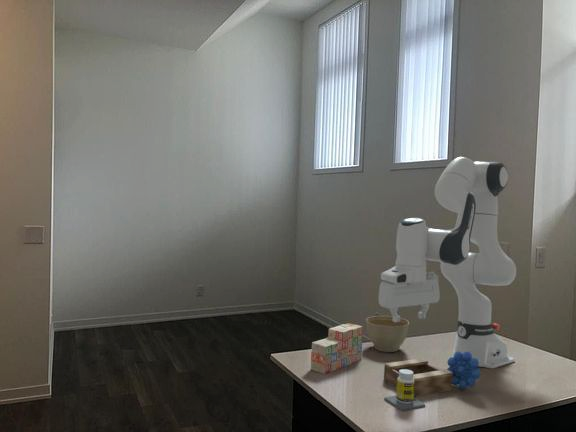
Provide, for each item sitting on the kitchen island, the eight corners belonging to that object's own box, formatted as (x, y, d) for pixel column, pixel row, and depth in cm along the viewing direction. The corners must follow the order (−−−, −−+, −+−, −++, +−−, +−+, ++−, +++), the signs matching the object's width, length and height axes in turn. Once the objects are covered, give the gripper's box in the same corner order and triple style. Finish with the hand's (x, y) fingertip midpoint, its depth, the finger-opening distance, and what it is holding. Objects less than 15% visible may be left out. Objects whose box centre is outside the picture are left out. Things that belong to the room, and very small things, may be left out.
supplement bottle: (403, 405, 136) (405, 375, 136) (392, 398, 140) (394, 369, 140) (417, 402, 138) (418, 373, 138) (406, 396, 143) (407, 367, 142)
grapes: (487, 392, 149) (489, 353, 148) (474, 397, 145) (476, 357, 144) (454, 380, 158) (456, 343, 158) (441, 384, 154) (443, 346, 154)
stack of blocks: (325, 374, 160) (326, 337, 159) (310, 369, 164) (311, 333, 163) (361, 359, 175) (363, 325, 175) (347, 355, 180) (348, 322, 179)
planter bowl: (380, 339, 200) (381, 313, 200) (415, 349, 189) (416, 321, 189) (356, 347, 189) (357, 319, 188) (393, 358, 178) (394, 328, 177)
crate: (421, 374, 163) (421, 358, 162) (451, 389, 150) (452, 372, 150) (383, 379, 156) (384, 363, 156) (412, 396, 144) (413, 379, 143)
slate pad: (406, 395, 145) (406, 393, 145) (425, 406, 137) (425, 404, 137) (384, 399, 141) (384, 397, 141) (402, 411, 134) (402, 408, 134)
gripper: (430, 269, 152) (429, 313, 153) (376, 274, 143) (374, 320, 144) (445, 273, 146) (443, 318, 147) (389, 278, 137) (388, 326, 138)
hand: (409, 320), depth 145 cm, fingers open, 8 cm apart
